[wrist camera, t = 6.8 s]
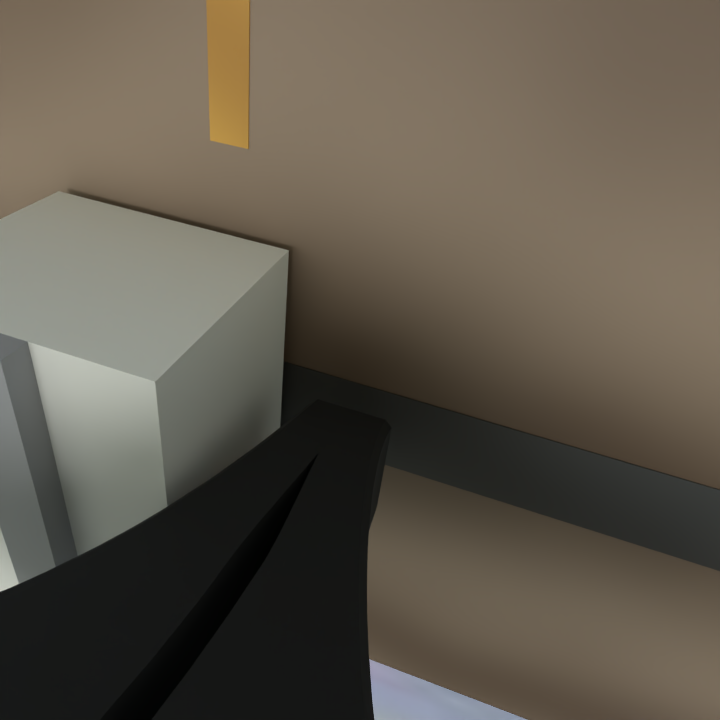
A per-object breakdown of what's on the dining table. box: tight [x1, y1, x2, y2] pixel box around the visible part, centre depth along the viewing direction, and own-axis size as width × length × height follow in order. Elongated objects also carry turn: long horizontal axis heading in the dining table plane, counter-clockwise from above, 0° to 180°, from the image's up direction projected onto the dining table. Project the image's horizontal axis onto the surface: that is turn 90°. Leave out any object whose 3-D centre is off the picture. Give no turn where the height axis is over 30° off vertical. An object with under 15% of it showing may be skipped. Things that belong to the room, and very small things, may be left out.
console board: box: [0, 0, 720, 720], centre depth 12 cm, size 14×22×2 cm, turn 83°
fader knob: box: [0, 191, 289, 592], centre depth 10 cm, size 6×4×4 cm, turn 173°
